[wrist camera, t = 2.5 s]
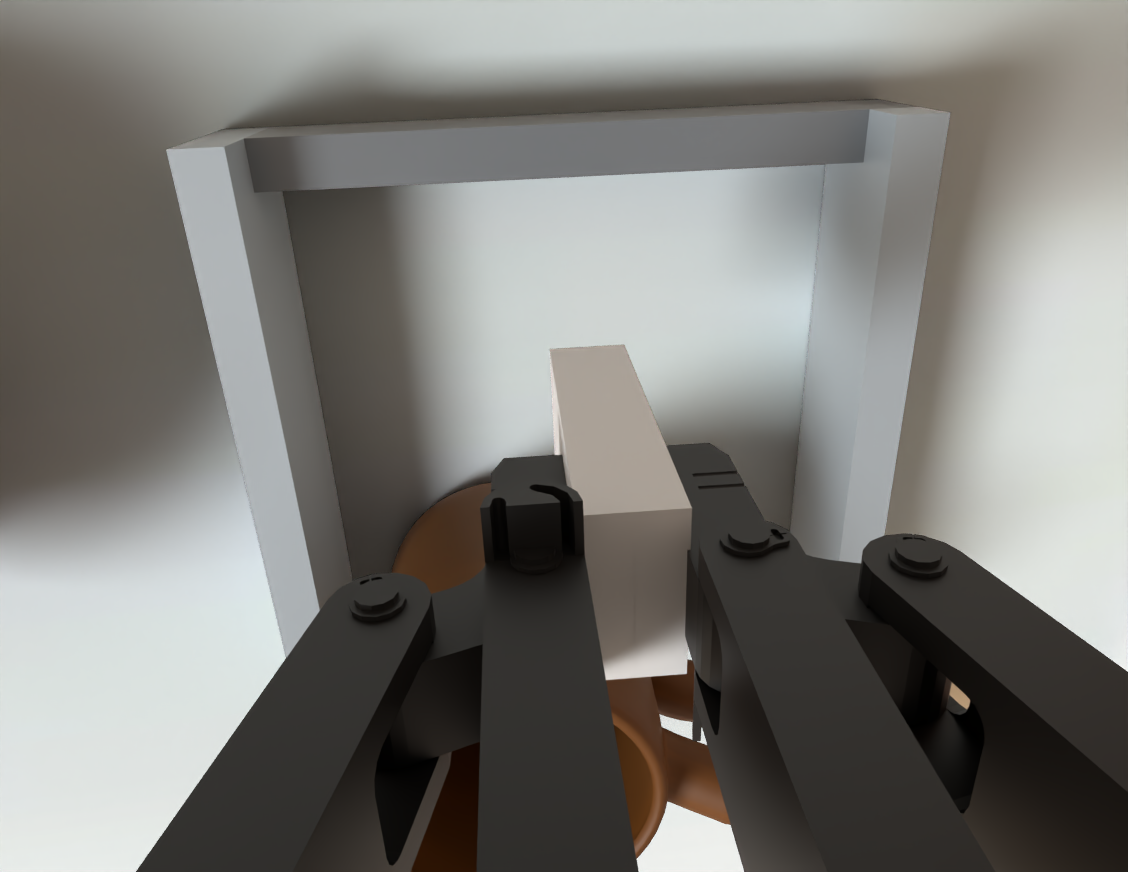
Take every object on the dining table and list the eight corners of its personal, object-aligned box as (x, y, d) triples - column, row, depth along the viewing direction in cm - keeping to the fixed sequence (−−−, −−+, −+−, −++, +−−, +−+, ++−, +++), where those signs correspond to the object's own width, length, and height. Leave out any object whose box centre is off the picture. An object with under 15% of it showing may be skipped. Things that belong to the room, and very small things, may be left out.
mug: (775, 502, 27) (898, 714, 19) (715, 681, 30) (799, 931, 22) (404, 455, 26) (357, 665, 17) (382, 650, 29) (334, 908, 20)
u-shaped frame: (222, 129, 21) (166, 149, 18) (876, 98, 22) (950, 112, 18) (331, 658, 29) (307, 748, 25) (814, 622, 29) (858, 704, 26)
